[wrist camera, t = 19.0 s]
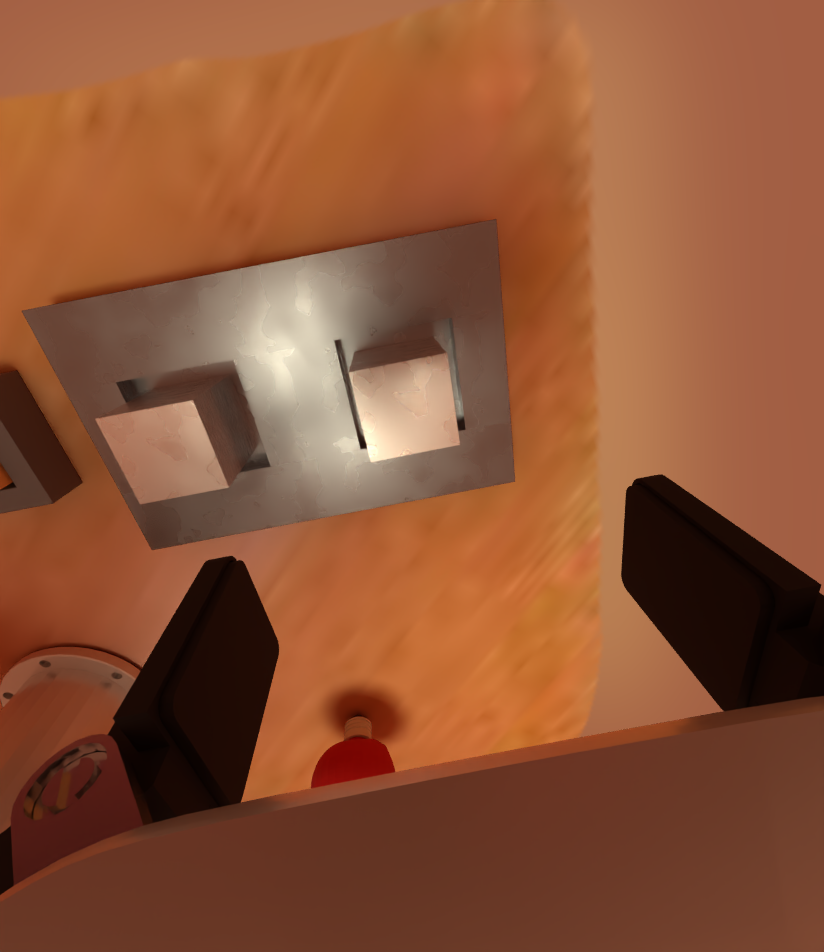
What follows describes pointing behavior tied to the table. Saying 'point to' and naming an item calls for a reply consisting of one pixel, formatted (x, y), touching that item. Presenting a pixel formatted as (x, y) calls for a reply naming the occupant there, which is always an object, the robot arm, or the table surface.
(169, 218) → the table surface
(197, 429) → the seated billet
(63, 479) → the button housing
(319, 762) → the light bulb
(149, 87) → the table surface
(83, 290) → the table surface
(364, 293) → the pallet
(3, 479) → the button
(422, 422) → the block
